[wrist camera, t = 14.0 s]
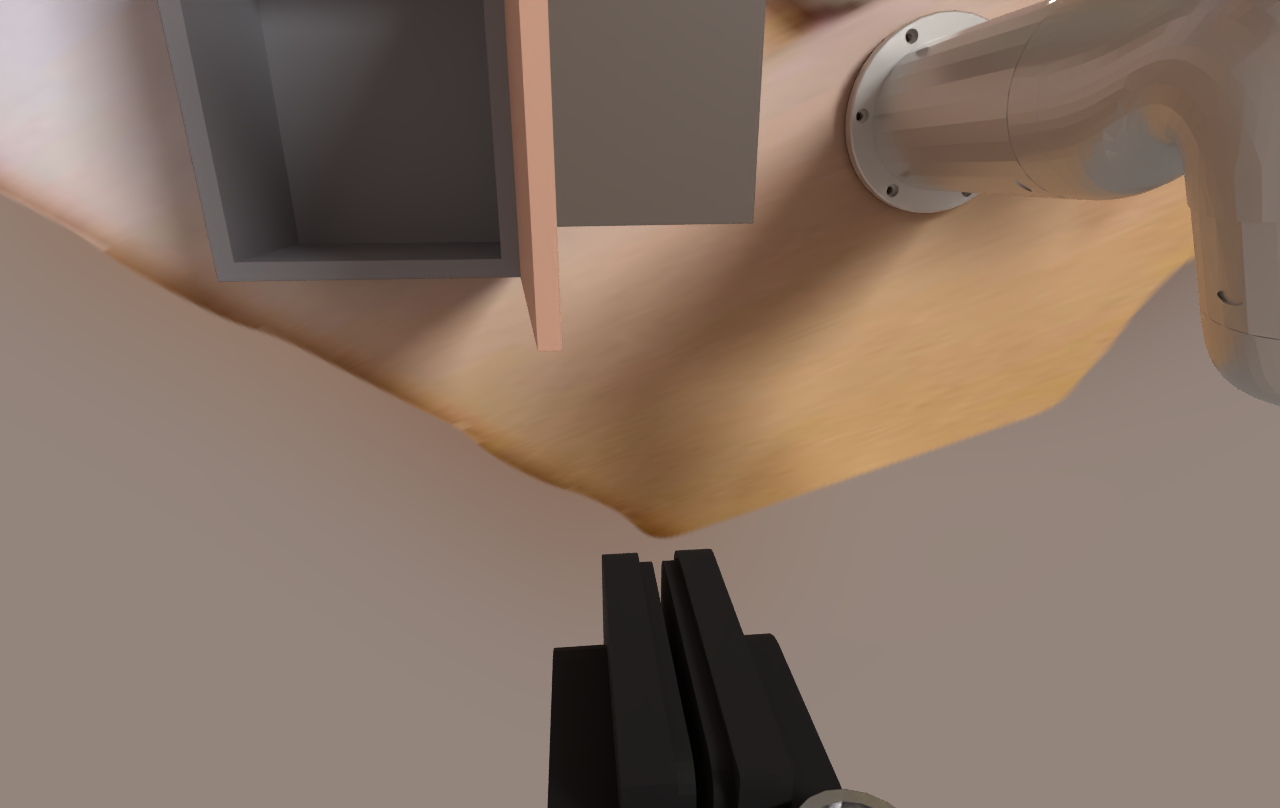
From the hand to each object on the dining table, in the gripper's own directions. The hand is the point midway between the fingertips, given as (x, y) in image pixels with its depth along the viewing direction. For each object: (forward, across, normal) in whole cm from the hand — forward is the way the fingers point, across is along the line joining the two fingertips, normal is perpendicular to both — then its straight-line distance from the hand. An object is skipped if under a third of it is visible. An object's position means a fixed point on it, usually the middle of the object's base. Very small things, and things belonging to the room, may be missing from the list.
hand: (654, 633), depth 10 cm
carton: (+39, +12, -12) cm, 43 cm away
